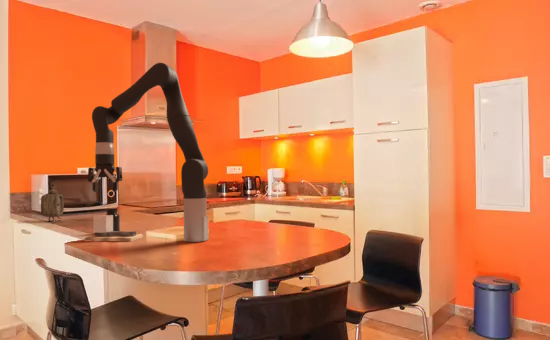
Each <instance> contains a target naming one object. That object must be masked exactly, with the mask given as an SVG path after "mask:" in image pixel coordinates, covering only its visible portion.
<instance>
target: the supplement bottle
mask: <svg viewBox="0 0 550 340" xmlns="http://www.w3.org/2000/svg"><path fill="white" fill-rule="evenodd" d="M105 212H106V214H105V215H113V231H121V229H120V226H121V224H120V223H121V222H120V221H121V217H120V214H119V213H118V208H117V207H112V208H111V207H109V208H106V210H105Z"/></svg>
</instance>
